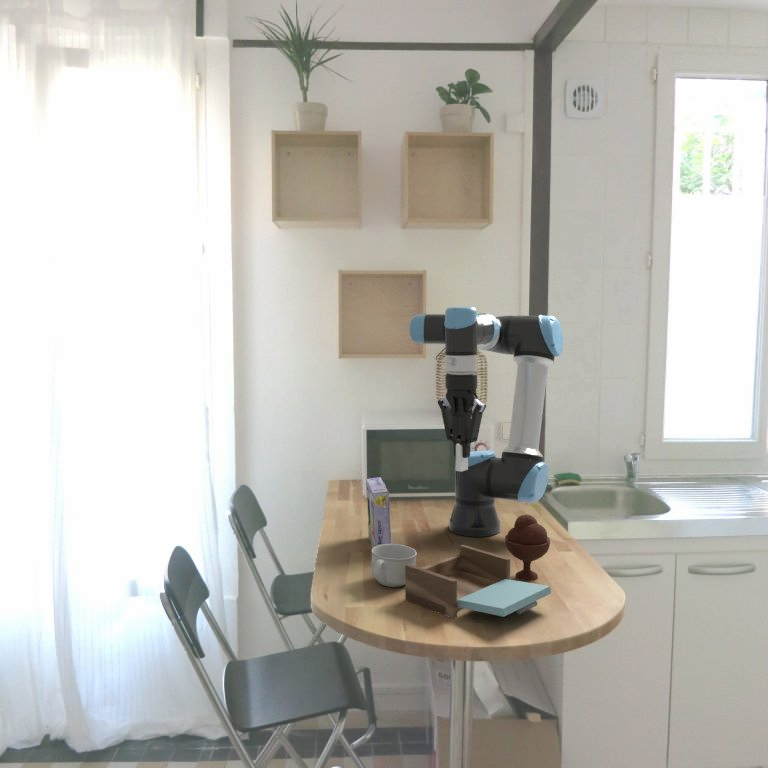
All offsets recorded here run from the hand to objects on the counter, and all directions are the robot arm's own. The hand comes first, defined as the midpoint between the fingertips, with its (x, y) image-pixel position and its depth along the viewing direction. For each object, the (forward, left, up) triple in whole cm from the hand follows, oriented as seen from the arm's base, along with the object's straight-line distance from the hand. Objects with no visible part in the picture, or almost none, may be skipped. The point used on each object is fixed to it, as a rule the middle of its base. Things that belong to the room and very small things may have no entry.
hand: (461, 470), depth 172 cm
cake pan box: (-1, -31, -27) cm, 41 cm away
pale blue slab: (+10, +14, -24) cm, 30 cm away
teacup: (+16, -9, -27) cm, 32 cm away
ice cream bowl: (-11, +11, -27) cm, 31 cm away
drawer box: (+10, +6, -26) cm, 29 cm away
